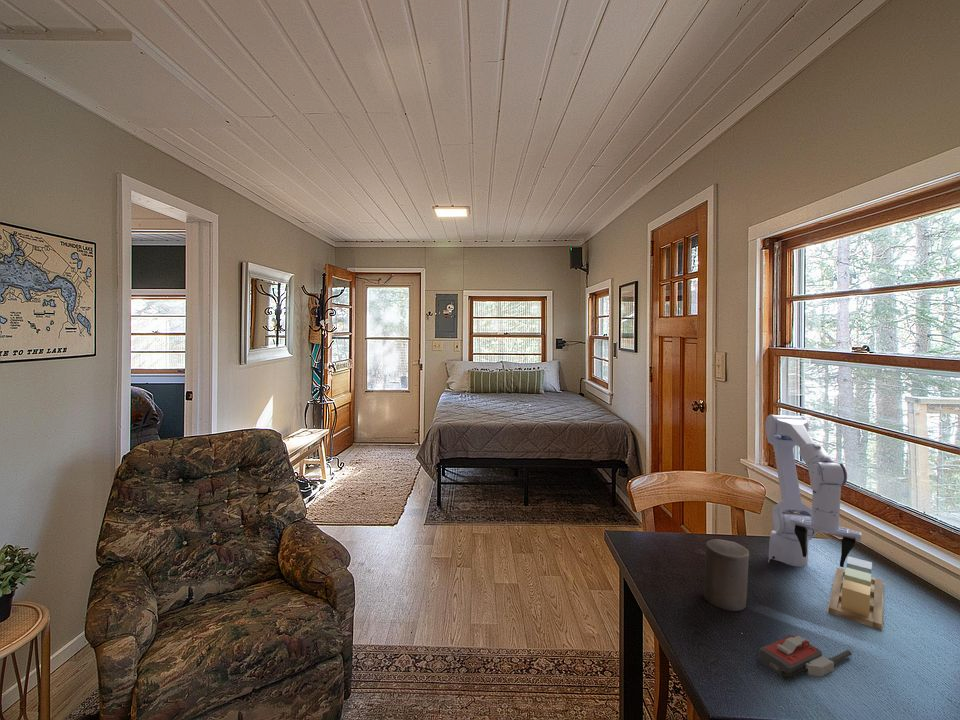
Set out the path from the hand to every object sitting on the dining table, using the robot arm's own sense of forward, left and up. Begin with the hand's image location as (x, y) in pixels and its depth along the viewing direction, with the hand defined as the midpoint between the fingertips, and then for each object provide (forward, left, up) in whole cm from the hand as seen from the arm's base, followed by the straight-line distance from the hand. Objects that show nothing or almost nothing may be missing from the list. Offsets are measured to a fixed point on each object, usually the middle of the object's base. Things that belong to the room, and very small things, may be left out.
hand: (822, 560), depth 118 cm
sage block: (+7, +2, -8) cm, 11 cm away
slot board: (+7, +2, -9) cm, 12 cm away
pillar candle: (-18, -19, -10) cm, 28 cm away
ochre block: (+7, -6, -8) cm, 12 cm away
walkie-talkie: (0, -32, -10) cm, 33 cm away
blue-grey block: (+7, +10, -8) cm, 15 cm away
